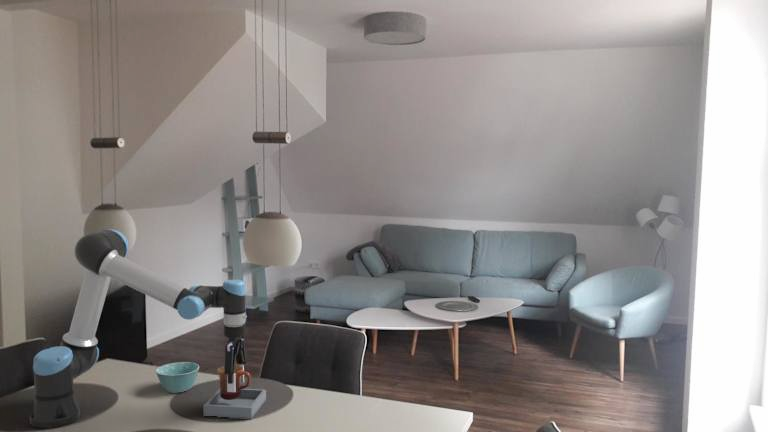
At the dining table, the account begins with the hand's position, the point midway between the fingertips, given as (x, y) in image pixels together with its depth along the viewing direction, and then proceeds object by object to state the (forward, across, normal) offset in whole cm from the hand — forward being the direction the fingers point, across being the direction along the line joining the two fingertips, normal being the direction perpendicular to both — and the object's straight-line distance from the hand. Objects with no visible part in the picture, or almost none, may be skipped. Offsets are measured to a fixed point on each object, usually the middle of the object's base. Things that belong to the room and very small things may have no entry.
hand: (235, 386), depth 225 cm
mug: (+4, 0, 0) cm, 4 cm away
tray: (+8, 0, 0) cm, 8 cm away
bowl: (+8, +15, +28) cm, 33 cm away
